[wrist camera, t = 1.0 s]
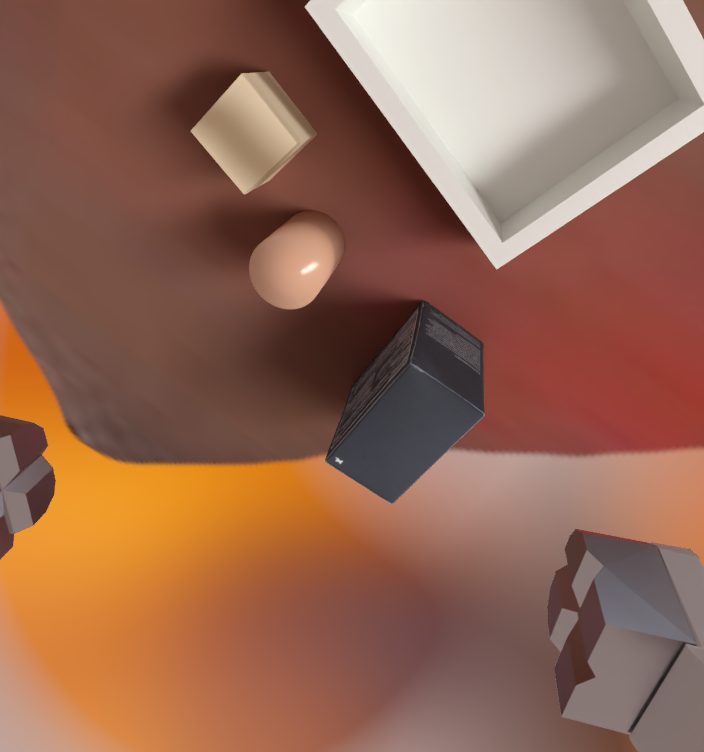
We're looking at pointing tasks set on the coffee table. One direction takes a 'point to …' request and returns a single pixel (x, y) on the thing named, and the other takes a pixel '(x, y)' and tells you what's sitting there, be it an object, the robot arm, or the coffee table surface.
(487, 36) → the white tote
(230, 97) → the maple cube
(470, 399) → the small box
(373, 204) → the coffee table surface
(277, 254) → the peach capsule
